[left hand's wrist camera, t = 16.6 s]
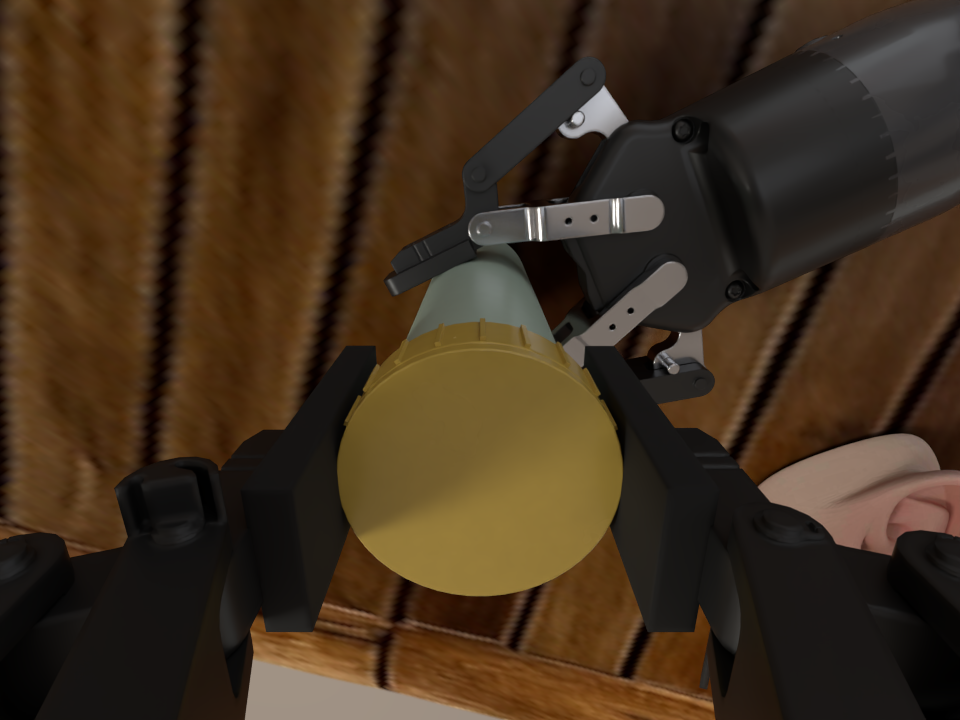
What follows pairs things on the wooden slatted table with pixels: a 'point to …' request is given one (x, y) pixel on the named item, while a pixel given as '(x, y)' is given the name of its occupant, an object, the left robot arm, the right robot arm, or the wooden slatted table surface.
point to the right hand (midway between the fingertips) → (423, 342)
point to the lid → (480, 460)
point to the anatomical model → (872, 491)
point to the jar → (482, 295)
